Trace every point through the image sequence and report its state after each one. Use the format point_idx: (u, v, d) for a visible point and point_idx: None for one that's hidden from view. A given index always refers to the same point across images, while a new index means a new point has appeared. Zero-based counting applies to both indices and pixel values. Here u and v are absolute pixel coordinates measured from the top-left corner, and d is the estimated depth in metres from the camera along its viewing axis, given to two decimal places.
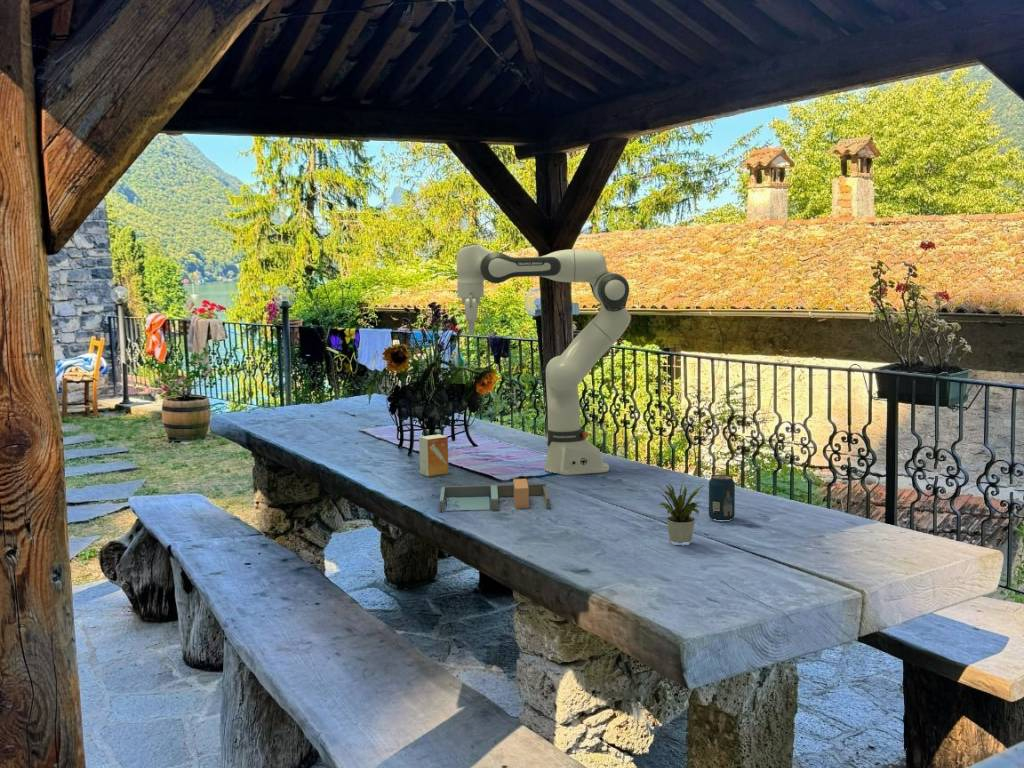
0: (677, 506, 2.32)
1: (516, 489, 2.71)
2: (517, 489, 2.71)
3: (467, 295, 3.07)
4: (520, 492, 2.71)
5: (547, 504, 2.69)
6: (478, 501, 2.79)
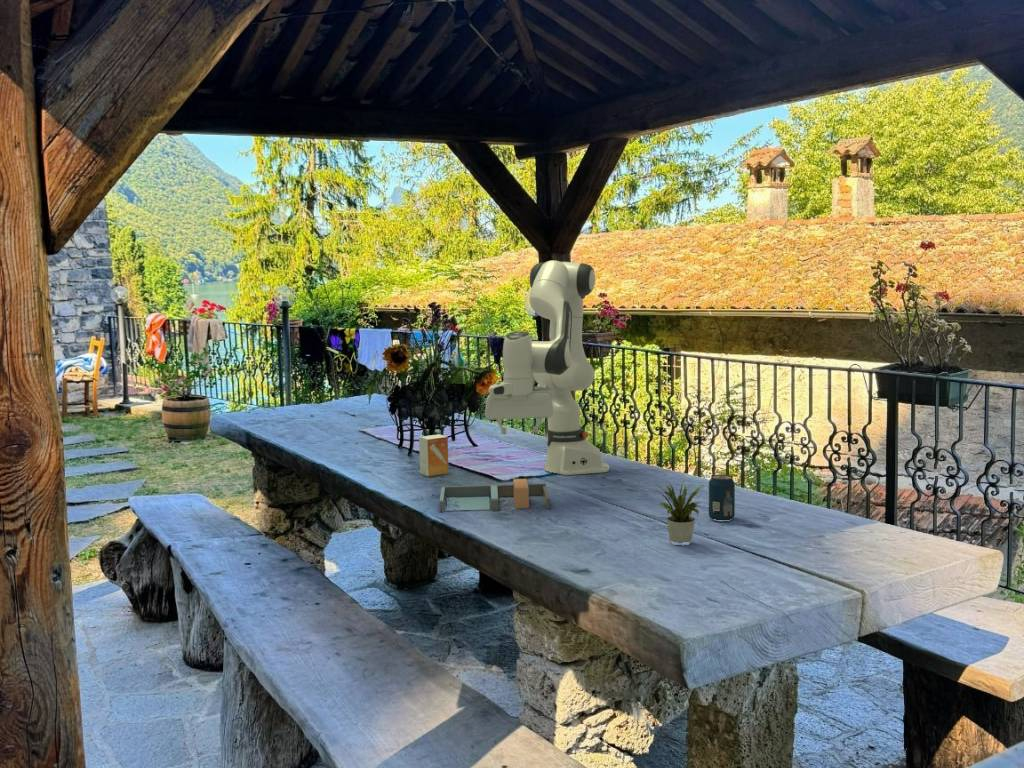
0: (677, 506, 2.32)
1: (516, 489, 2.71)
2: (517, 489, 2.71)
3: (533, 389, 2.72)
4: (520, 492, 2.71)
5: (547, 504, 2.69)
6: (478, 501, 2.79)
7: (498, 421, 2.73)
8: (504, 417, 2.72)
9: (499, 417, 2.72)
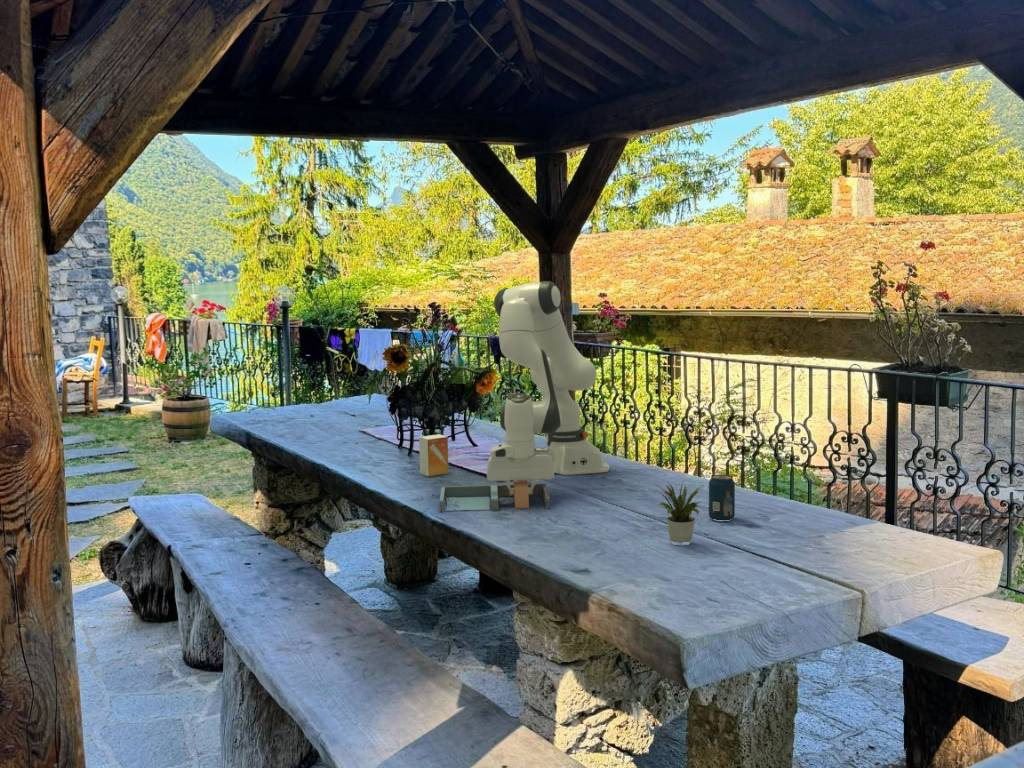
0: (677, 506, 2.32)
1: (516, 488, 2.71)
2: (517, 488, 2.71)
3: (534, 451, 2.74)
4: (520, 492, 2.71)
5: (547, 504, 2.69)
6: (478, 501, 2.79)
7: (506, 482, 2.75)
8: (506, 479, 2.74)
9: (501, 479, 2.74)
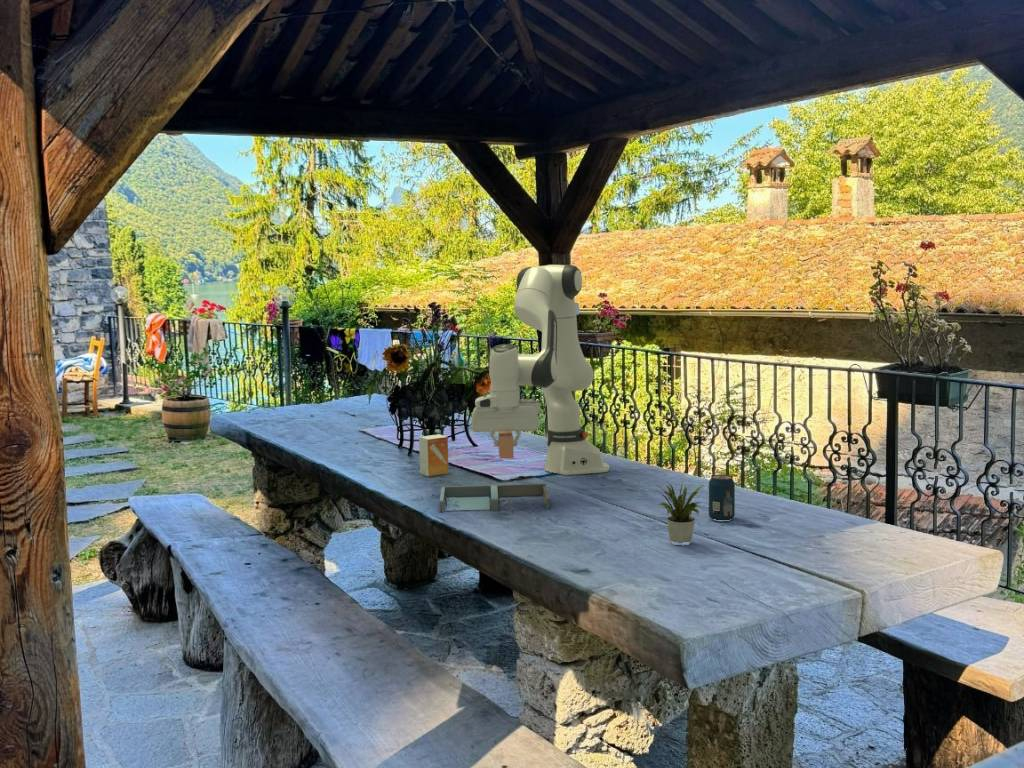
0: (677, 506, 2.32)
1: (501, 439, 2.68)
2: (502, 439, 2.68)
3: (519, 402, 2.72)
4: (504, 442, 2.68)
5: (547, 504, 2.69)
6: (478, 501, 2.79)
7: (491, 433, 2.73)
8: (490, 430, 2.72)
9: (485, 430, 2.72)
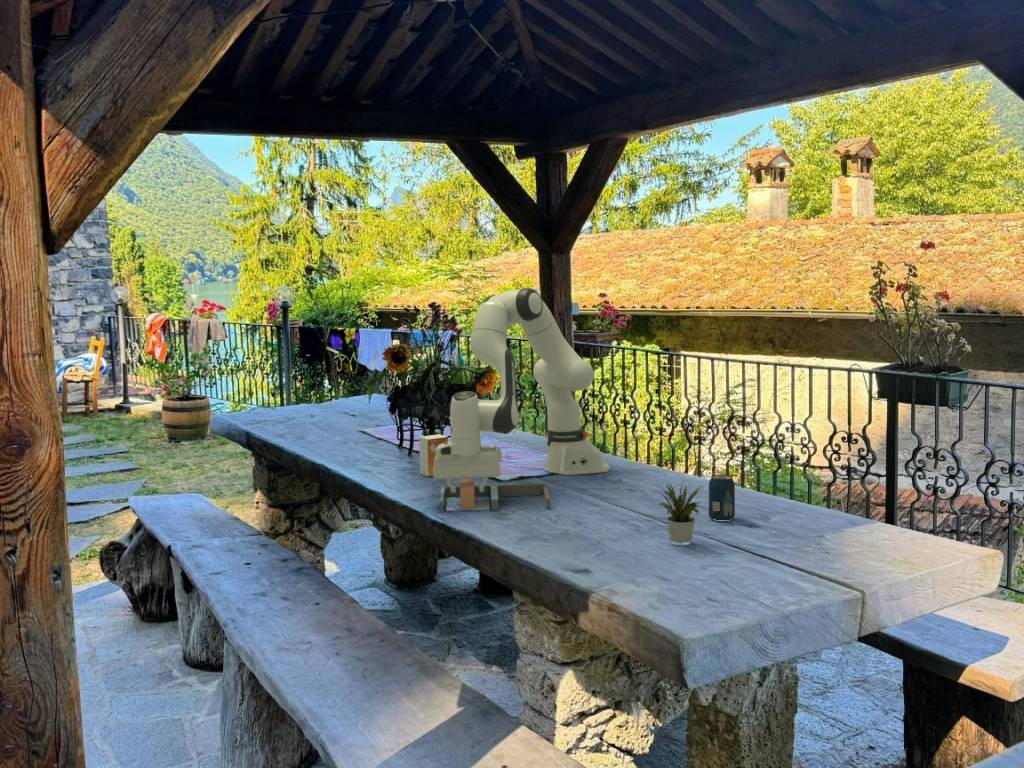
0: (677, 506, 2.32)
1: (461, 489, 2.70)
2: (462, 489, 2.70)
3: (480, 449, 2.74)
4: (465, 493, 2.70)
5: (547, 504, 2.69)
6: (478, 501, 2.79)
7: (447, 480, 2.75)
8: (451, 477, 2.74)
9: (446, 477, 2.74)
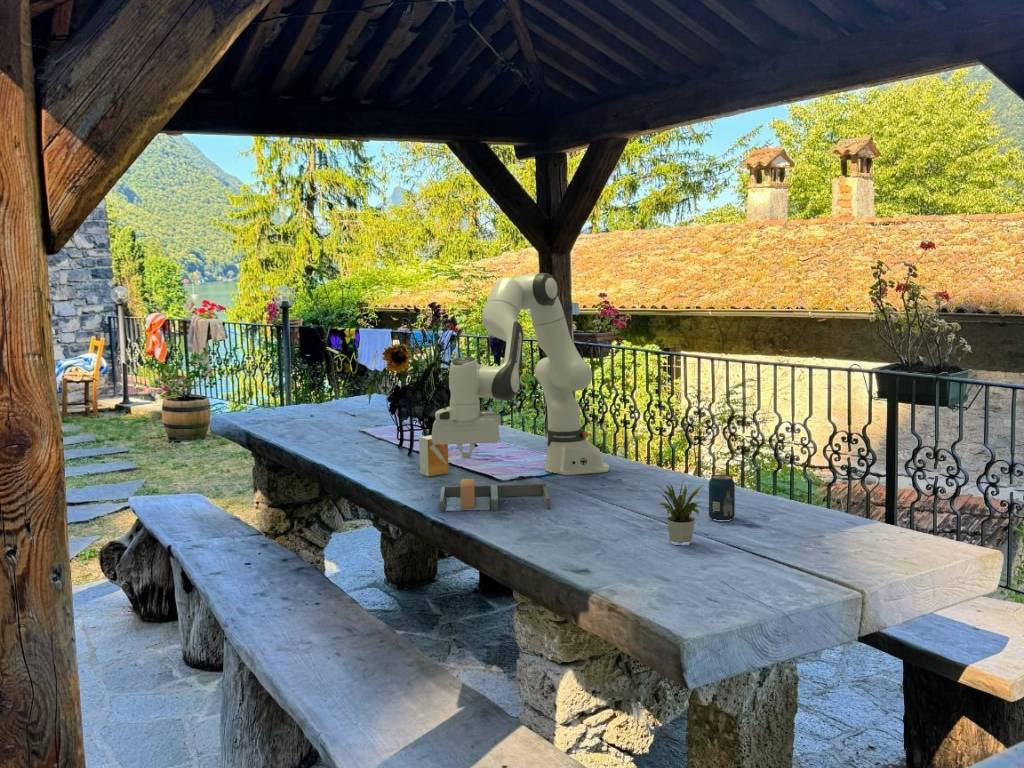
0: (677, 506, 2.32)
1: (461, 489, 2.70)
2: (462, 489, 2.70)
3: (479, 415, 2.72)
4: (465, 493, 2.70)
5: (547, 504, 2.69)
6: (478, 501, 2.79)
7: (458, 446, 2.73)
8: (450, 442, 2.72)
9: (445, 442, 2.72)
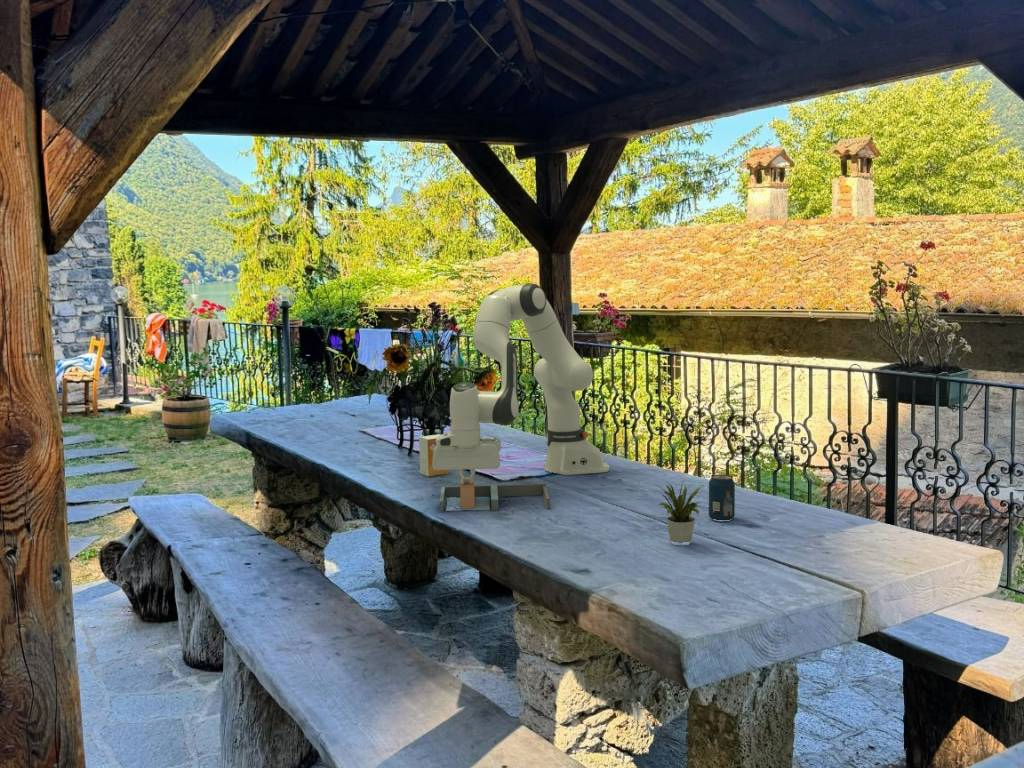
0: (677, 506, 2.32)
1: (461, 489, 2.70)
2: (462, 489, 2.70)
3: (480, 441, 2.73)
4: (465, 493, 2.70)
5: (547, 504, 2.69)
6: (478, 501, 2.79)
7: (459, 471, 2.74)
8: (451, 468, 2.73)
9: (446, 468, 2.73)
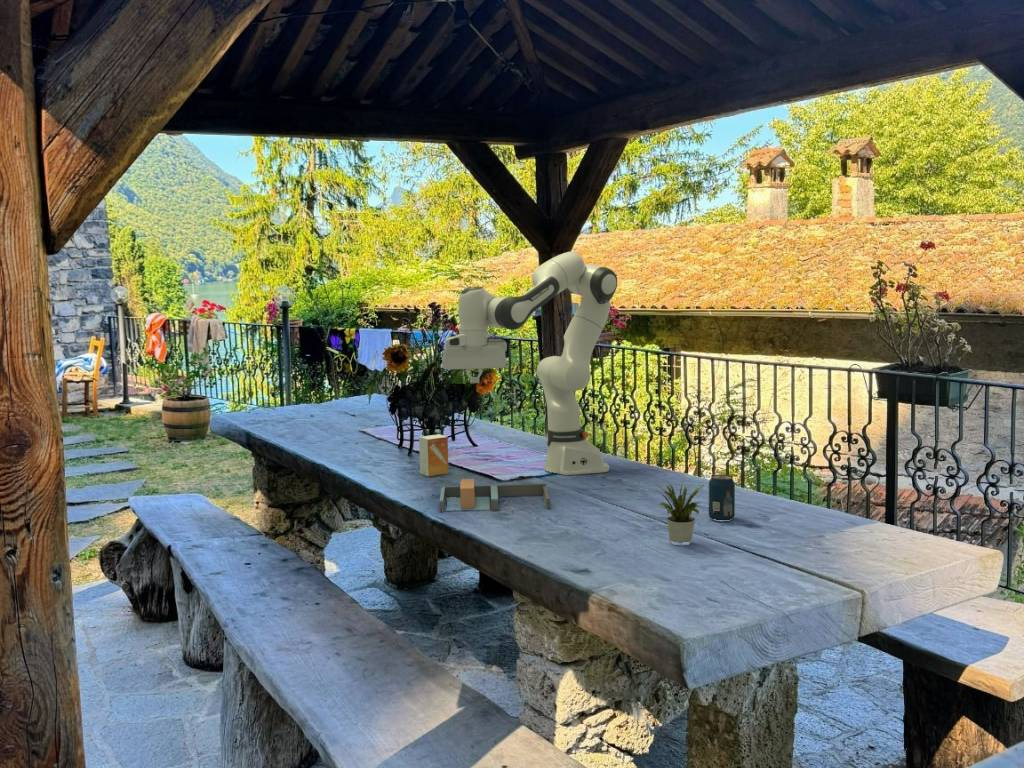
0: (677, 506, 2.32)
1: (461, 489, 2.70)
2: (462, 489, 2.70)
3: (487, 341, 2.89)
4: (465, 493, 2.70)
5: (547, 504, 2.69)
6: (478, 501, 2.79)
7: (467, 371, 2.90)
8: (460, 367, 2.89)
9: (455, 367, 2.89)
